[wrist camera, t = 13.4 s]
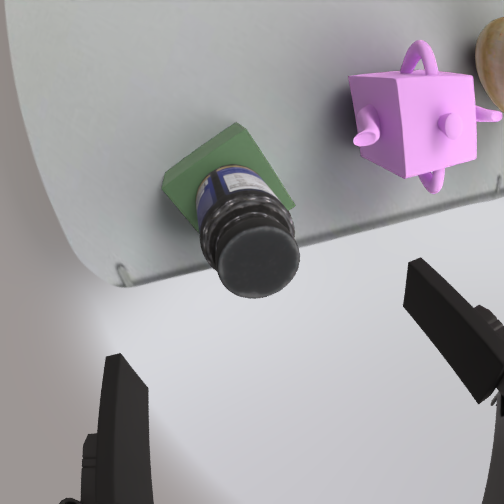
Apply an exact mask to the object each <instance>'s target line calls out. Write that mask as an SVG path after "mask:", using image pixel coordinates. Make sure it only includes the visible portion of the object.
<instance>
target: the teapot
mask: <svg viewBox="0 0 504 504" xmlns="http://www.w3.org/2000/svg"><path fill="white" fill-rule="evenodd" d="M420 59H422V61H423V65H424V69H425V70H414V68H415V66H416V64H417V63H418V61H419V60H420ZM348 79H349V85H350V90H351V95H352V101H353V106H354V112H355V118H356V125H357V131H358V134H357V135H356V136H355V137H354V139H353V142H354V144H355V145H356V146H360V153H361V157H363V158H365V159H367V160H369V161H371V162H373V163H375V164H377V165H379V166H381V167H383V168H385V169H387V170H389V171H391V172H393V173H394V174H396V175H398V176H400V177H402V178H404V179H405V178H409V177H413V176H417V175H418V176H419V178H420V180H421V182H422V183H423V185H424V187H425V188H426V189H427V190H428V191H429V192H430V193H432V194H435V193H438V192H439V191H440V189H441V188H442V185H443V181H444V173H445V168H446V167H449V166H453V165H457V164H460V163H464V162H467V161H471V160H474V159H477V158H476V146H477V131H476V122H498V121H500V120H501V119H502V113H501V112H499V111H495V110H489V109H485V108H482V107H479V106H476V105H475V94H474V84H473V76H472V75H465V74H458V73H450V72H441V71H438V68H437V64H436V60H435V57H434V54H433V51H432V49H431V47H430V46H429V45H428V44H427V43H426V42H425V41H422V40H417V41H415V42H414V43H413V44H412V45H411V46H410V47H409V49H408V51H407V53H406V55H405V58H404V61H403V64H402V67H401V70H400V71H392V72H380V73H370V74H361V75H353V76H348ZM431 171H433V175H432V173H431Z"/></svg>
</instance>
